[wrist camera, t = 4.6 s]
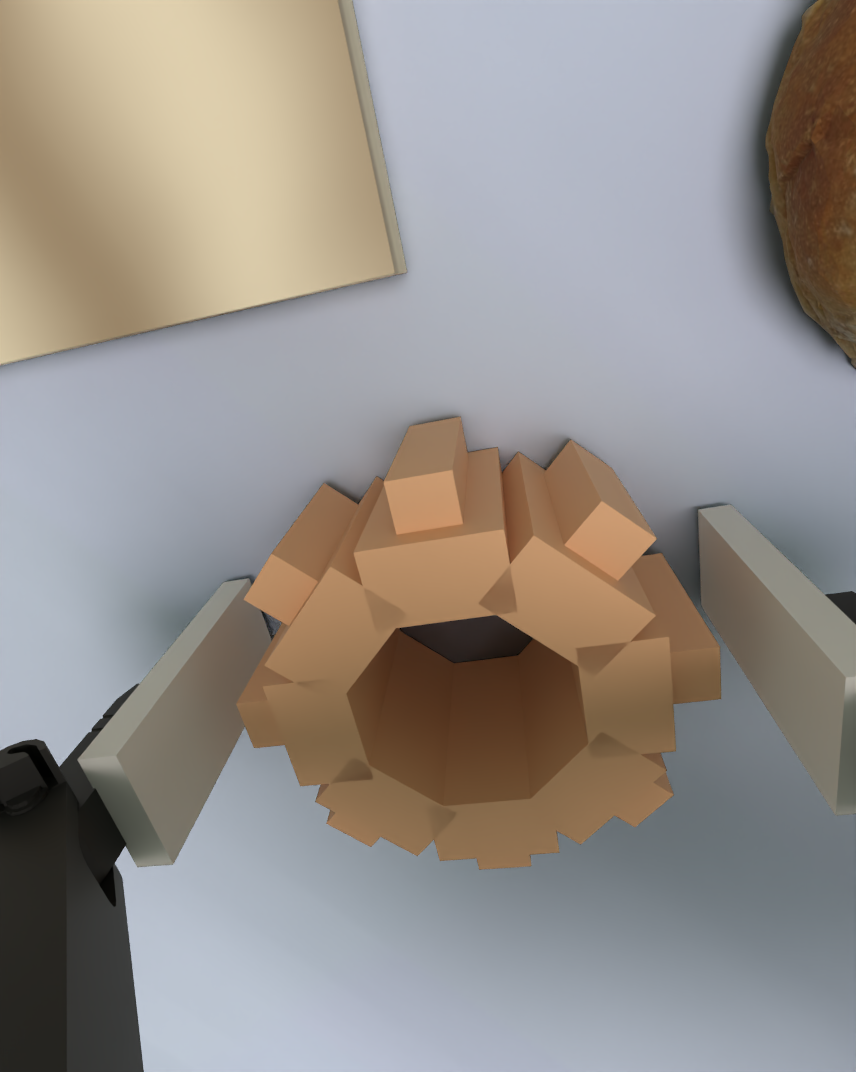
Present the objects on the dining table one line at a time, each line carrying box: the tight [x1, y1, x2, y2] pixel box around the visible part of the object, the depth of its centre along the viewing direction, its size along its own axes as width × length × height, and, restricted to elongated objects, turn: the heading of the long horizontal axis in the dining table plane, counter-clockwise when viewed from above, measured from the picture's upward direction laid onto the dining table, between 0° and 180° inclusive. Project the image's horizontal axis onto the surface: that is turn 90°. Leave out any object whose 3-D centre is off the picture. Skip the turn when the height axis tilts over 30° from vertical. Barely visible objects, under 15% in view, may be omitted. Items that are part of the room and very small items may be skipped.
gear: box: [236, 417, 721, 870], centre depth 14 cm, size 10×10×5 cm
